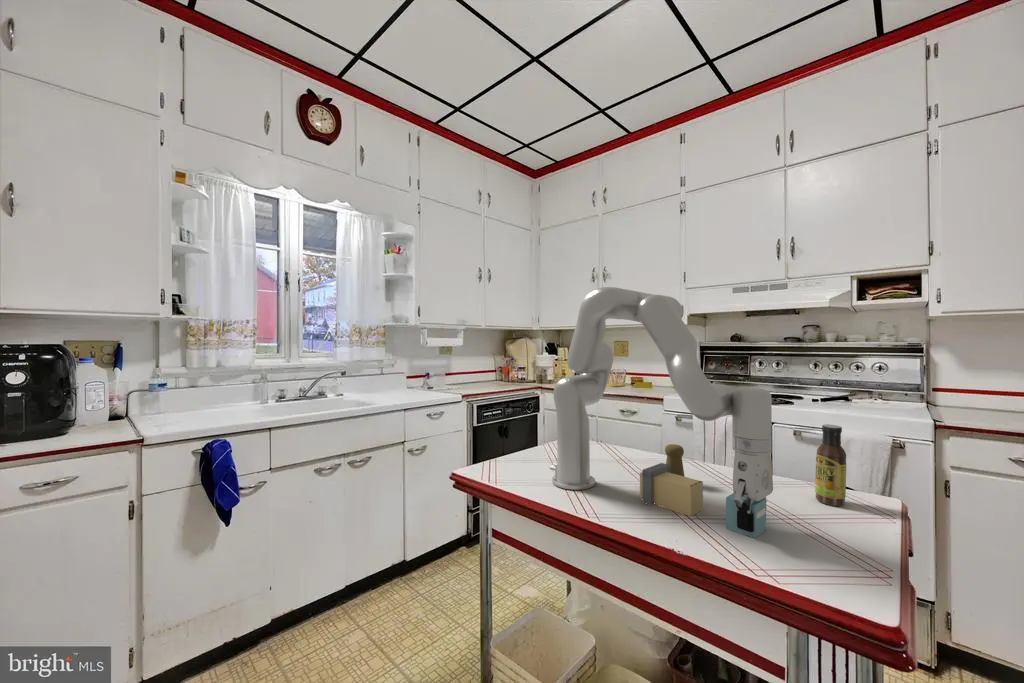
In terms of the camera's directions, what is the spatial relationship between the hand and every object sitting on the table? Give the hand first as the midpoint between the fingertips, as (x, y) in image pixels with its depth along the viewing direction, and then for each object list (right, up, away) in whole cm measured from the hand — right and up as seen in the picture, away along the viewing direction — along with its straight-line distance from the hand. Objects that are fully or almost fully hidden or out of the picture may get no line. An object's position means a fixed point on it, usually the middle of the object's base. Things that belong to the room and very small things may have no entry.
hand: (751, 524), depth 93 cm
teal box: (-1, -1, +1) cm, 2 cm away
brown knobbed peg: (-5, -1, +31) cm, 32 cm away
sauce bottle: (+29, -1, +15) cm, 33 cm away
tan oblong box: (-12, -1, +15) cm, 20 cm away
